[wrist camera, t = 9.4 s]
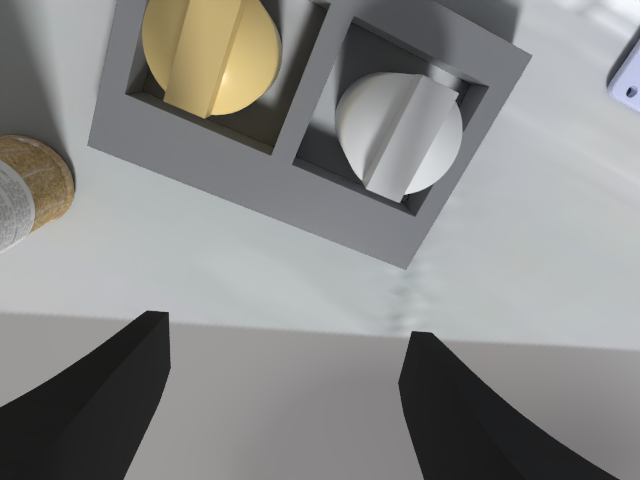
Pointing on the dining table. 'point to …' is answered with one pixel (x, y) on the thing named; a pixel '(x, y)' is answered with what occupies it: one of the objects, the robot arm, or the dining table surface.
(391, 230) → the housing
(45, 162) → the spice jar
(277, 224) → the dining table surface
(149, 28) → the beige cylinder with tab
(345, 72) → the dining table surface
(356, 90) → the grey knob with ridge
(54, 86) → the dining table surface
